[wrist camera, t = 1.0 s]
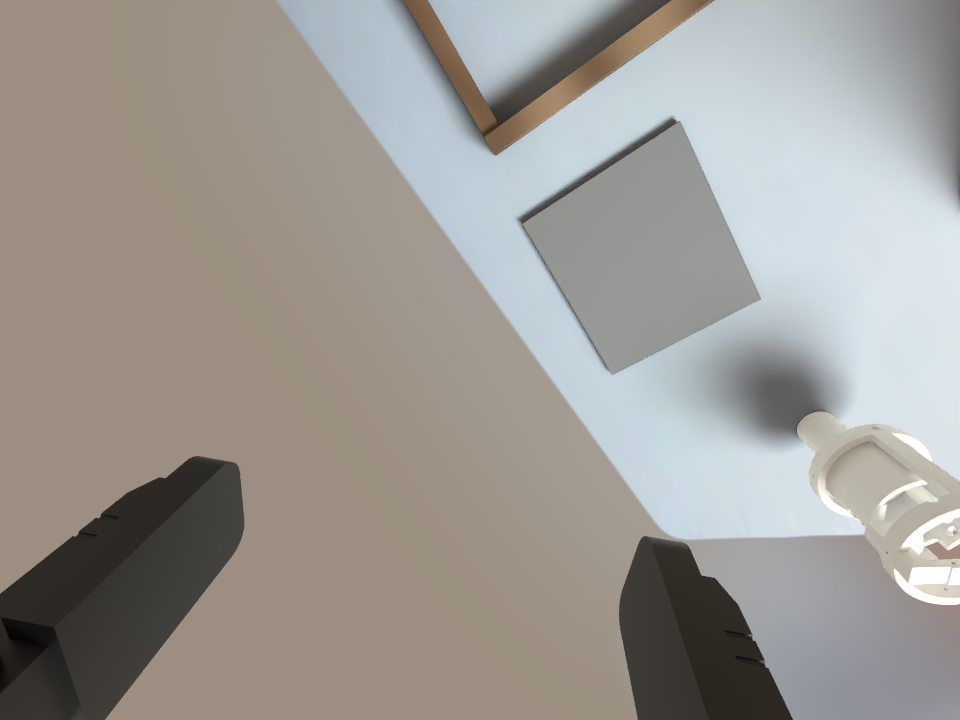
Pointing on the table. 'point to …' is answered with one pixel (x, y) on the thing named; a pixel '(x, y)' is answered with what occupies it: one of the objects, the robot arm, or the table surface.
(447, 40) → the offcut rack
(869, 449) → the white pipe fitting
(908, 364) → the table surface
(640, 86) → the table surface
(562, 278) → the mat
